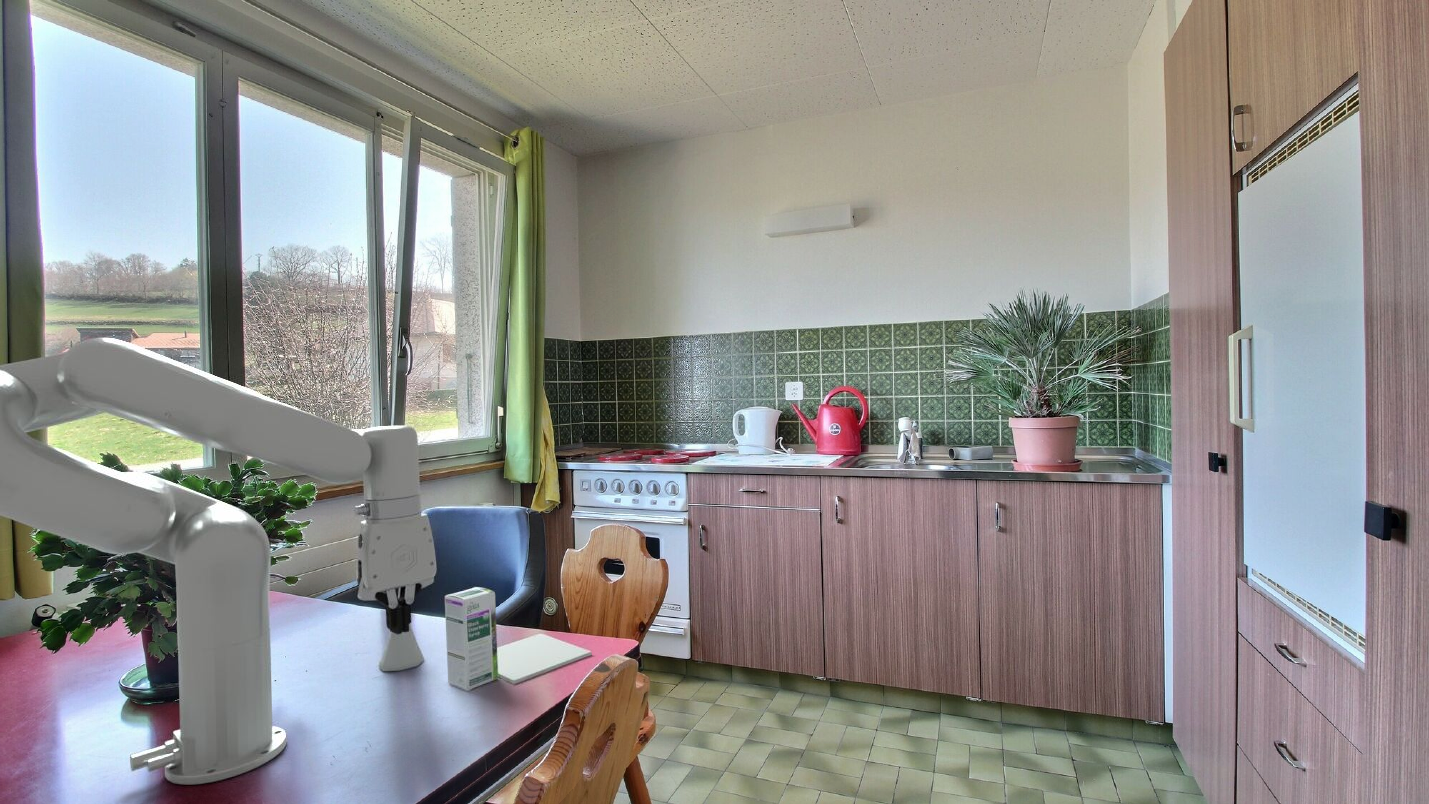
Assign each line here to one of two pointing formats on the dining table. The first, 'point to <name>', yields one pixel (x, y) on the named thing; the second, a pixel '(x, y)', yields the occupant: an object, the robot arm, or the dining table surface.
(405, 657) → the flask
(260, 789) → the dining table surface
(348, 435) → the robot arm
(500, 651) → the mat
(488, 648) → the syrup box
